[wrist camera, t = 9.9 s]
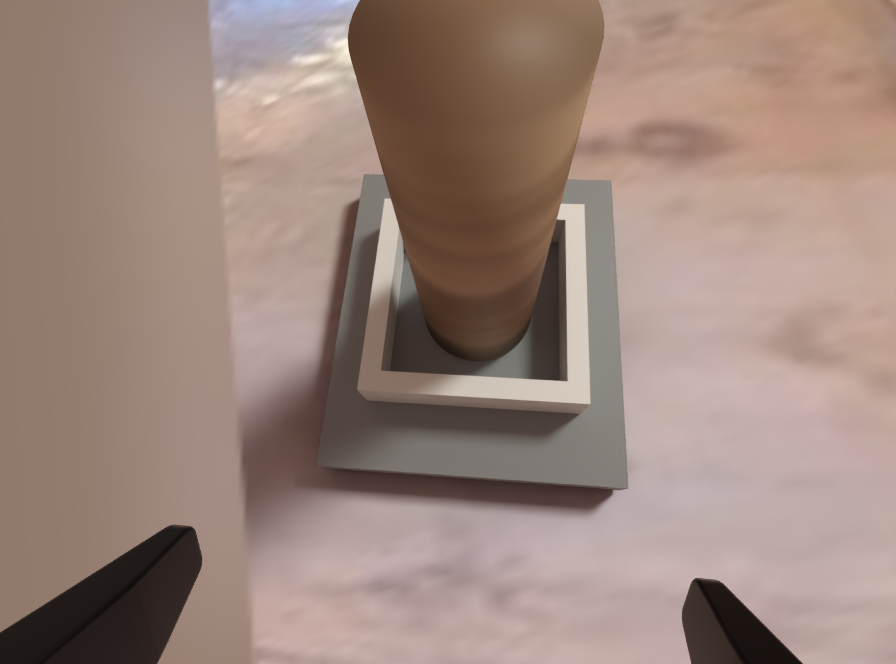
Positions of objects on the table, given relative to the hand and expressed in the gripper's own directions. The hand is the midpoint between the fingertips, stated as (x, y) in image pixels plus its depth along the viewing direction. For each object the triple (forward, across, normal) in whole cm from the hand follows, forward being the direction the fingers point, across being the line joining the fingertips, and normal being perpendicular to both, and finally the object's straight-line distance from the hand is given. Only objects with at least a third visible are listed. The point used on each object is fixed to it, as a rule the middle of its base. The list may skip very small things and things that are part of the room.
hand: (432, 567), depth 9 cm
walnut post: (+13, 0, 0) cm, 13 cm away
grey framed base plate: (+14, 0, +1) cm, 14 cm away
